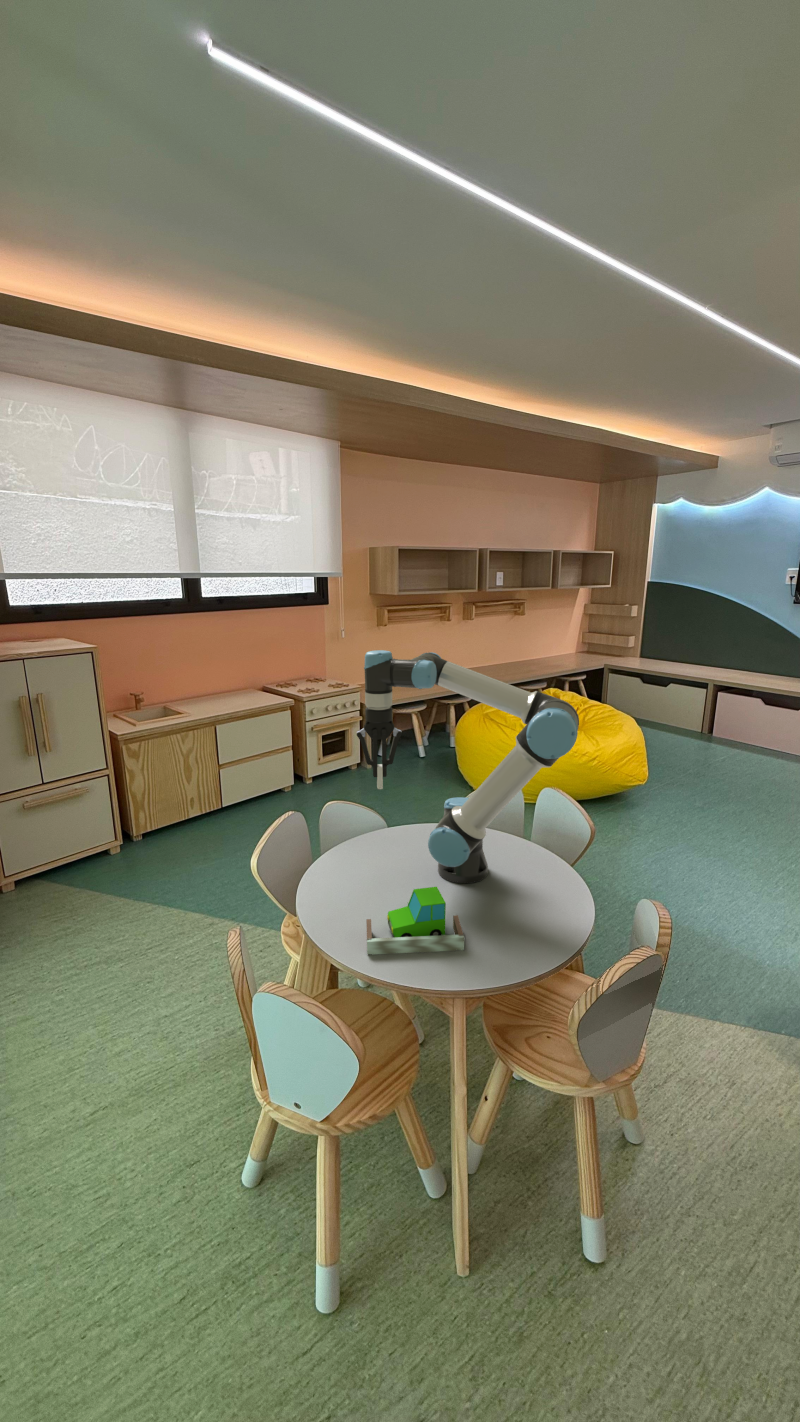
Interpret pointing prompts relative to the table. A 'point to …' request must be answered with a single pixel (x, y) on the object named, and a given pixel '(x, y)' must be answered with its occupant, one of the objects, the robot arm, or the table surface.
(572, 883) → the table surface
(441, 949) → the bay
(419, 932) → the toy car
